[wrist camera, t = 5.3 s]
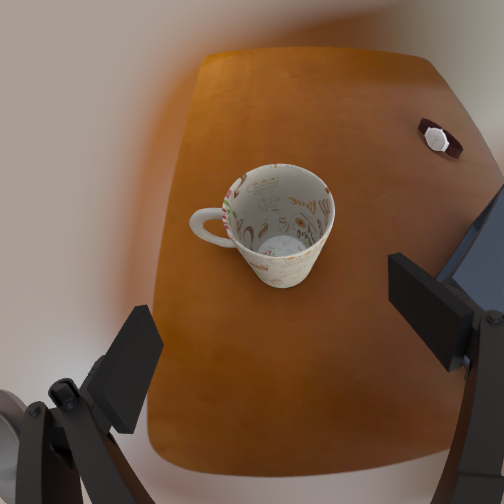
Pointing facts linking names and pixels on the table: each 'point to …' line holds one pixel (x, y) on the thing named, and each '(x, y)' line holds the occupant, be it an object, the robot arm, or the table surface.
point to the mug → (274, 221)
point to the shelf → (480, 260)
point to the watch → (440, 138)
